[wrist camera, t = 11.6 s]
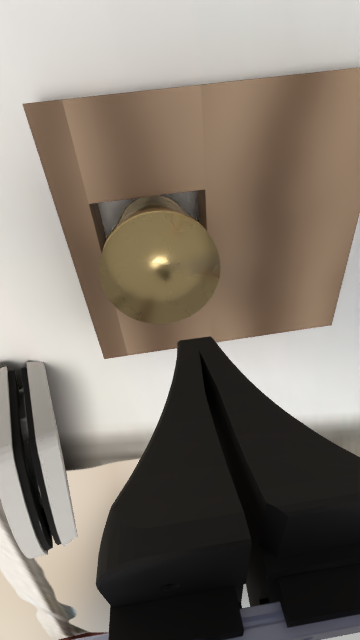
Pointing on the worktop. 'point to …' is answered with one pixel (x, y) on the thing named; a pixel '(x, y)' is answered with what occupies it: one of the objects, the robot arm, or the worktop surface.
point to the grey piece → (33, 464)
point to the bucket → (82, 636)
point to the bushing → (159, 262)
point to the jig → (216, 194)
